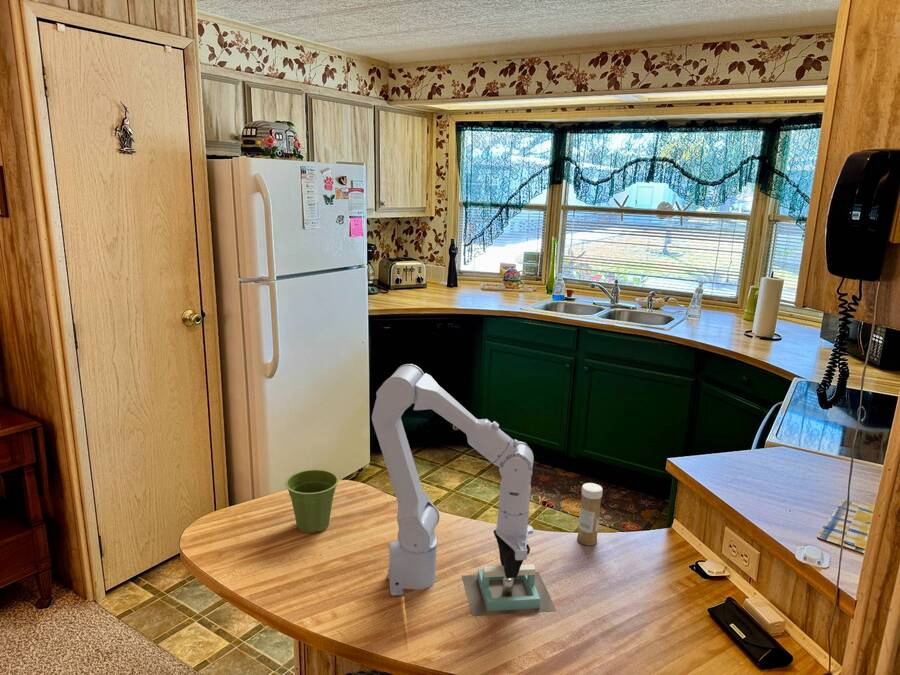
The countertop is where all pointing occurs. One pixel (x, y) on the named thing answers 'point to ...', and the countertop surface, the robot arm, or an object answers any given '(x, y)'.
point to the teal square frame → (509, 602)
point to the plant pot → (312, 498)
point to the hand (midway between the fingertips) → (508, 571)
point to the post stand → (505, 594)
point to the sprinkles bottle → (589, 513)
